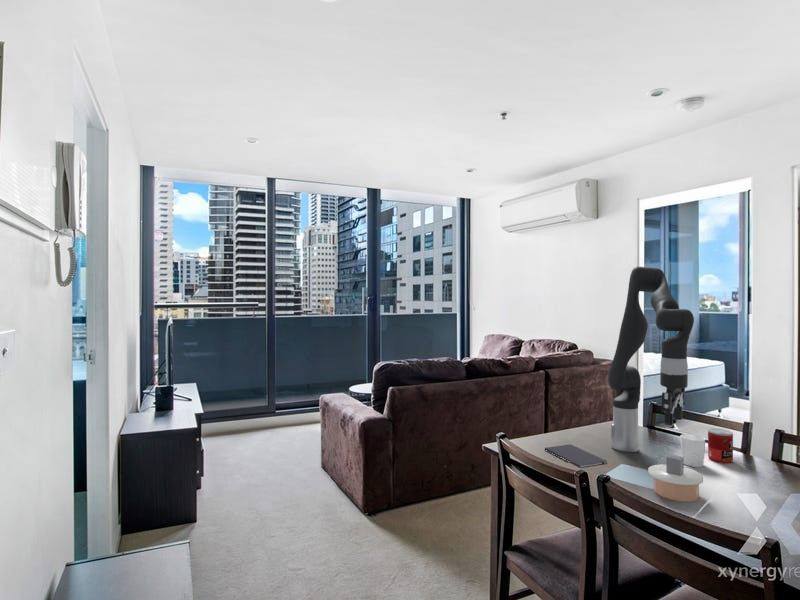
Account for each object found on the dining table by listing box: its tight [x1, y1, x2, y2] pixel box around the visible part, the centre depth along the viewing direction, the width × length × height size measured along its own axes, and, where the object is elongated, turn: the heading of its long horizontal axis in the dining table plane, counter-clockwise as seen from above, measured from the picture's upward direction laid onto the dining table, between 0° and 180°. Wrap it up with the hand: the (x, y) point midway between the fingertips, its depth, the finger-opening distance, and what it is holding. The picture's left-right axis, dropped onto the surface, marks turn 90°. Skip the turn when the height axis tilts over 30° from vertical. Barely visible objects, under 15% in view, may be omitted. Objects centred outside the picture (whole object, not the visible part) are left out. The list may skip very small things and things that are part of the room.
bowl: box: [653, 477, 700, 502], centre depth 149 cm, size 12×12×6 cm
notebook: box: [544, 444, 608, 468], centre depth 184 cm, size 13×2×21 cm
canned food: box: [707, 427, 734, 464], centre depth 179 cm, size 8×8×11 cm
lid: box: [647, 454, 704, 485], centre depth 149 cm, size 15×15×6 cm
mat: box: [605, 463, 654, 490], centre depth 163 cm, size 16×16×1 cm
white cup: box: [680, 433, 706, 468], centre depth 175 cm, size 8×8×10 cm
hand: (673, 422), depth 151 cm, fingers open, 8 cm apart
